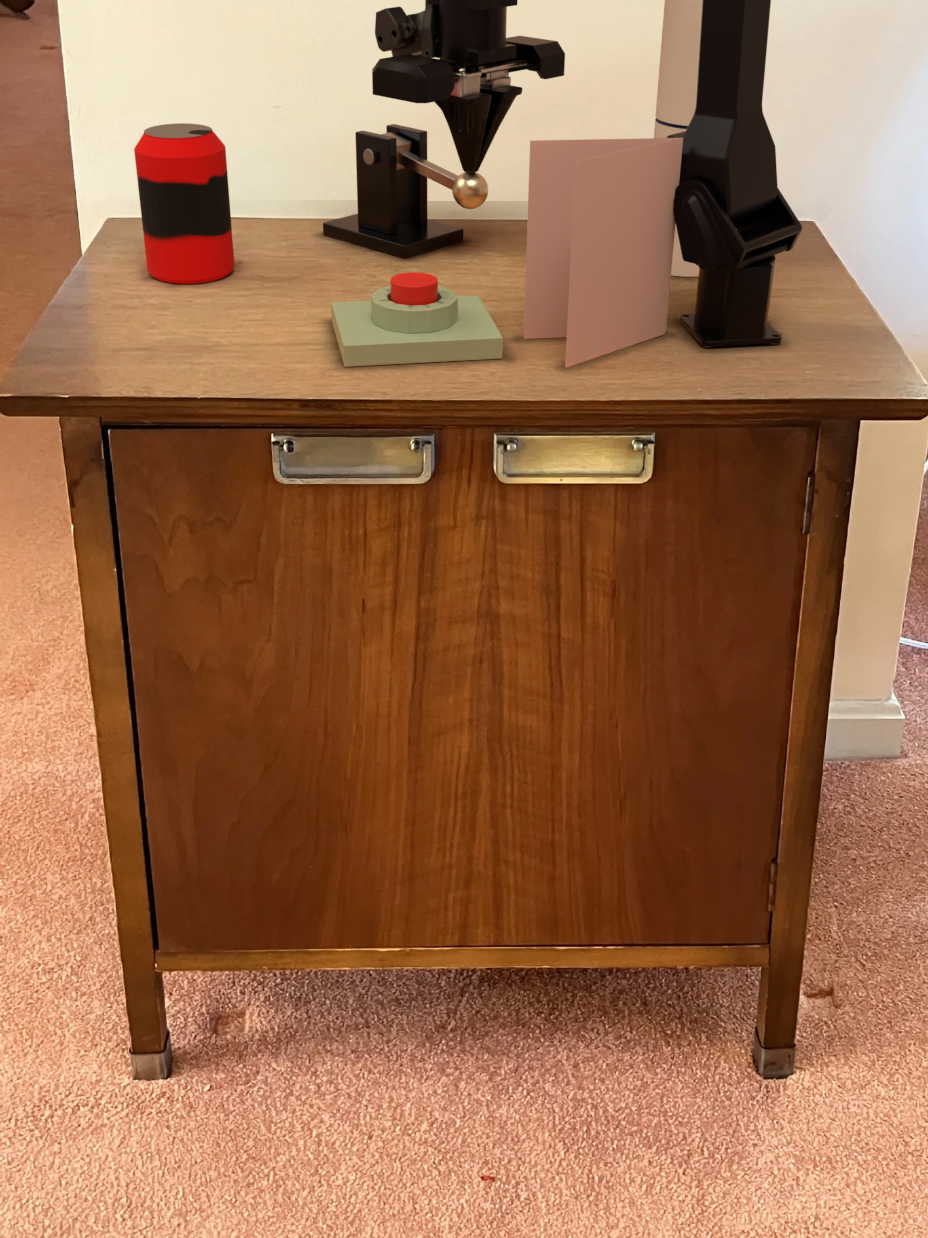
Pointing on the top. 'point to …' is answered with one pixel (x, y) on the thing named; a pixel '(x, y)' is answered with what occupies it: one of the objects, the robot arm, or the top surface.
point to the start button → (414, 289)
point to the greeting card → (600, 242)
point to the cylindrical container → (678, 87)
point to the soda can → (184, 203)
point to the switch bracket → (391, 200)
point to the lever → (443, 176)
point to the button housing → (415, 330)
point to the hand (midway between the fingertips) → (470, 171)
